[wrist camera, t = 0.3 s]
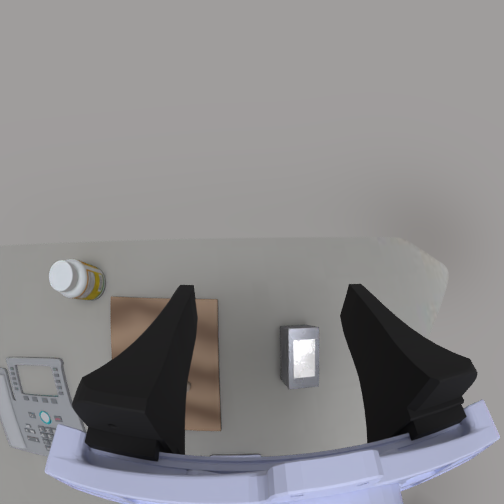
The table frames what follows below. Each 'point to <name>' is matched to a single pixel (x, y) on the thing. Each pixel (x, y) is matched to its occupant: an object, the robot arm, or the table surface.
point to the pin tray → (203, 360)
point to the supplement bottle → (77, 279)
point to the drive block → (299, 356)
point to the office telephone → (34, 407)
